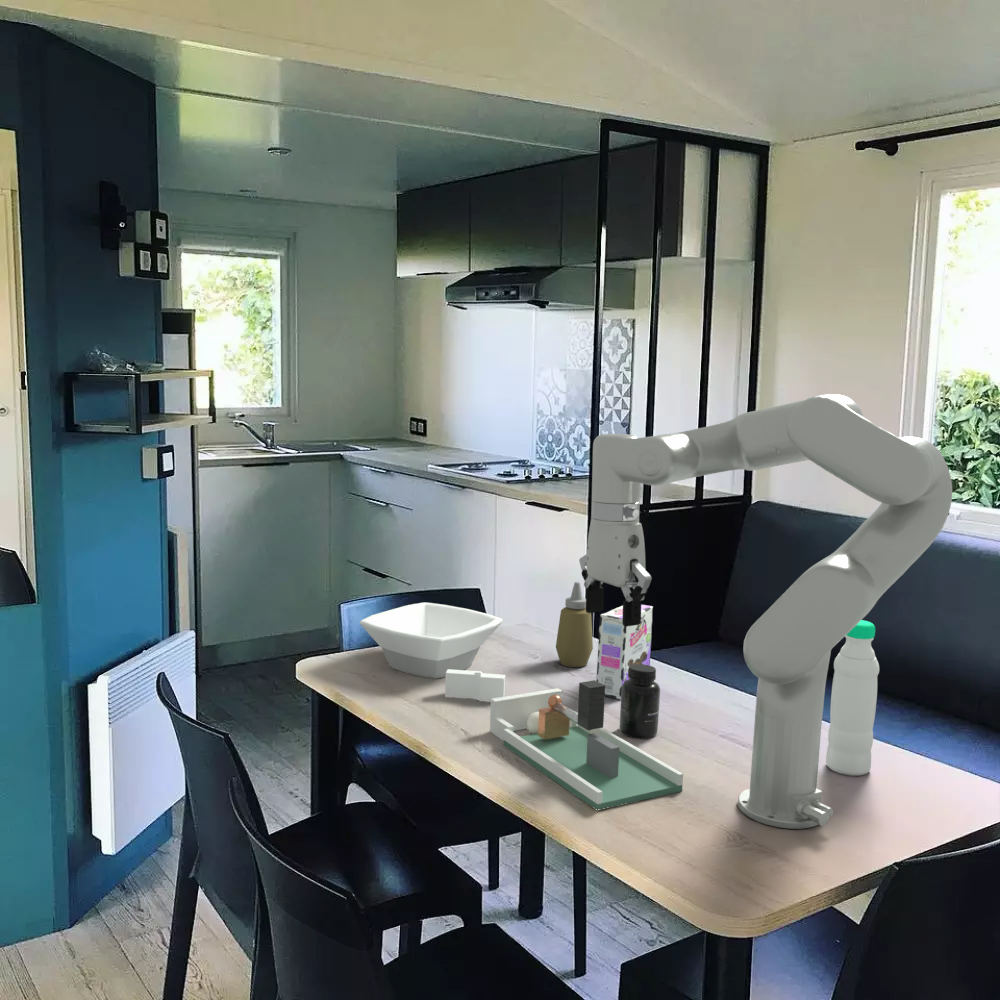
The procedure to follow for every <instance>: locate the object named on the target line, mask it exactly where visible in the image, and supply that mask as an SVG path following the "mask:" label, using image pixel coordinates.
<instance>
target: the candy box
mask: <svg viewBox="0 0 1000 1000" xmlns="http://www.w3.org/2000/svg"><path fill="white" fill-rule="evenodd" d="M653 608H654V606H652V605H646V604H641V623H640V624H639V625H633V626H627V627H626V626H623V624H622V620H623V605H621V606H619V607H616V608H614V609H613V608H612V609H611V610H609V611H606V612H604V613H601V614H600V616H599V627H598V644H597V645H598V646H597V660H596V661H597V662H596V663H597V664H596V666H597V667H596V680H595V681H597V682H599V683H601V684H603V685H605V697H608V698H613V699H616V700H620V701H621V693H622V685H623V683H624V682H625V681H626V680H628V679H629V678H628V672H629V666H630V665H634V664H644V665H650V666H651V650H652V649H651V648H652V628H653V627H652V626H653V613H654V612H653V611H654V609H653Z"/></svg>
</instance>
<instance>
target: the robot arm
mask: <svg viewBox="0 0 1000 1000" xmlns="http://www.w3.org/2000/svg"><path fill="white" fill-rule="evenodd" d="M805 461H811V462H812V463H813V464H815V465H817V466H818V467H820V468H822V469H823V470H825V471H826V472H828V473H829V474H831V475H833V476H834V477H836V478H838V479H839V480H840V481H842V482H844V483H846V484H848V485H849V486H850V487H852V488H854V489H856V490H857V491H859V492H861V493H863V494H864V495H865V496H867V497H869V498H871V499H873V500H875V501H876V502H877V501H878V502H880V505H879V506H878V507H877V508H876V509H875V511H874V512H872V514H871V515H870V516H869V517H868V518H866V520H865V521H863V522H862V524H861V525H860V526H859V527H858V528H857V529H856V531H855V532H853V534H851V535H850V537H848V539H847V540H845V541H844V542H843V543H842V545H840V546H839V547H838V548H837V549H836V550H834V552H832V553H831V554H830V555H828V556H826V557H825V558H822V560H821V559H820V561H818V562H816V563H815V564H813V565H812V566H810V567H809V568H808V569H807V570H805V571H804V572H803V573H802V574H801V575H800V576H799V577H798V578H797V579H796V580H795V581H794V582H793V583H792V584H791V585H790V586H789V588H787V589H786V590H785V592H784V593H782V594H781V595H780V596H779V598H777V599H776V600H775V602H773V604H771V606H770V607H769V608H768V609H767V610H766V611H765V612H763V614H762V615H761V616H760V617H758V618H757V620H755V622H754V623H753V624H752V625H751V626H750V628H749V629H748V631H747V632H746V635H745V638H744V640H743V649H742V650H743V658H744V662H745V663H746V665H747V667H748V669H749V670H750V671H751V673H752V674H753V675H754V676H755V677H756V678H757V679H758V681H757V685H756V686H757V688H756V689H757V690H756V699H755V711H754V722H753V723H754V725H753V738H752V750H751V751H752V753H751V769H750V782H749V783H750V784H749V788H747V789H745V790H743V791H742V792H741V793H739V795H738V799H737V805H738V808H739V810H740V811H741V812H742V814H744V815H745V816H747V817H748V818H749V819H752V820H754V821H756V822H758V823H761V824H764V825H767V826H772V827H775V828H780V829H781V828H783V829H791V830H792V829H793V830H801V829H809V828H812V827H815V826H818V825H820V826H822V827H823V826H825V825H826V824H827V823H828V821H829V819H830V818H831V817H832V816H833V814H834V809H833V808H832V807H830V805H829V806H828V805H827V804H823V802H822V795H823V791H822V790H820V789H819V788H817V785H818V770H819V761H820V749H821V747H820V746H821V738H822V737H821V736H822V735H821V734H822V723H823V722H822V721H823V714H824V713H823V712H824V704H825V703H824V702H825V693H826V692H825V691H826V683H827V677H828V671H829V667H830V666H829V664H830V660H831V659H830V658H831V652H832V649H833V648H834V647H836V645H837V644H838V643H839V642H841V640H843V639H844V638H845V635H847V634H848V633H849V632H850V631H851V630H852V629H853V628H854V627H855V626H856V625H857V624H858V623H859V622H860V621H861V620H863V619H864V618H866V616H867V615H868V614H869V613H870V612H871V610H872V609H873V608H874V607H875V605H876V604H877V602H878V601H879V599H880V598H881V597H883V594H885V593H886V592H887V590H889V588H891V586H892V585H894V584H895V583H896V581H898V579H900V577H902V576H903V575H904V574H905V572H906V571H908V569H909V568H910V567H911V566H912V565H913V564H914V563H915V562H916V561H917V560H918V559H919V558H920V557H921V556H922V555H923V553H924V552H926V551H927V550H928V548H929V547H930V546H931V545H932V543H934V541H935V540H936V538H937V537H938V536H939V534H940V532H941V531H942V529H943V528H944V526H945V523H946V521H947V518H948V516H949V514H950V510H951V505H952V499H953V483H952V477H951V473H950V470H949V467H948V464H947V462H946V460H945V458H944V456H943V454H942V453H941V452H940V450H939V448H937V447H936V446H935V445H934V443H933V444H932V442H930V441H928V440H927V439H924V438H921V437H917V436H901V437H898V436H896V435H894V434H893V433H891V432H890V431H888V430H885V429H884V428H883V427H880V426H879V425H876V424H875V423H874V422H872V421H870V420H868V419H867V418H866V417H864V414H863V412H862V410H861V408H860V406H859V405H858V404H857V403H856V402H855V401H854V400H853V399H851V398H850V397H848V396H845V395H841V394H833V393H831V394H830V393H829V394H821V395H814V396H811V397H808V398H806V399H803V400H798V401H794V402H790V403H785V404H780V405H777V406H772V407H766V408H762V409H757V410H753V411H749V412H744V413H741V414H739V415H736V416H735V417H734V418H733V419H730V420H728V421H725V422H724V421H723V422H722V423H721V422H720V423H718V424H712V425H708V426H704V427H698V428H696V429H695V428H694V429H690V430H689V429H688V430H685V431H679V432H673V433H672V432H671V433H665V434H659V435H652V436H645V437H644V436H643V437H637V435H634V434H629V433H628V434H627V433H626V434H625V433H605V434H600V435H597V436H596V437H595V438H594V440H593V443H592V470H591V471H592V473H591V475H592V476H591V477H592V479H591V480H592V481H591V516H590V525H589V531H588V537H587V546H586V547H587V548H586V554H585V555H583V556H581V557H580V558H579V560H578V561H579V564H580V565H579V566H580V569H581V576H582V578H583V581H584V583H583V586H584V588H585V599H586V612H587V613H591V614H594V613H600V612H603V611H604V609H605V608H604V606H605V605H604V602H605V601H604V598H605V587H603V586H602V585H603V584H607V585H610V586H614V587H617V588H620V589H621V591H622V593H623V596H624V598H625V600H623V601H622V606H623V620H622V624H623V626H626V627H627V626H633V625H639V624H640V623H641V605H642V601H644V600H645V595H646V594H647V593H648V592H649V588H650V585H651V582H652V578H653V577H652V575H651V574H650V573H649V572H648V571H647V570H646V547H645V545H646V544H645V536H644V529H643V526H642V523H641V522H640V507H641V506H640V502H641V499H640V498H641V484H642V485H643V484H644V485H648V486H655V487H656V486H665V485H666V484H667V485H668V484H671V483H675V482H680V481H684V480H688V479H692V478H697V477H702V476H707V475H712V474H717V473H723V472H728V471H737V470H745V471H759V470H763V469H768V468H774V467H778V466H784V465H788V464H795V463H800V462H801V463H802V462H805ZM630 588H632V591H631V589H630Z"/></svg>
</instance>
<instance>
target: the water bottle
mask: <svg viewBox="0 0 1000 1000" xmlns="http://www.w3.org/2000/svg"><path fill="white" fill-rule="evenodd" d="M875 635H876V626H875V625H874V624H873V623H872V622H871V621H868V620H863V619H862V620H861V621H860V622H859V623H858V624H857V625H856V626H855V627H854V628H853V629H852V630H851V631H850V632H849V633H848V634H847V635H845V636H844V638H845V643H844V645H843V646H842V647H841V648H840V651H839V653H838V654H837V656H836V657H835V658H834V661H833V669H834V673H833V678H832V685H831V693H830V694H831V698H830V711H829V712H830V714H829V715H830V718H829V719H830V724H829V727H828V733H827V740H828V741H827V742H828V743H827V748H826V755H825V763H826V766H827V767H828V768H829V769H830V770H832V771H833V772H835V773H838V774H840V775H844V776H853V777H857V776H864V775H866V774H868V773H869V772H870V770H871V767H872V747H873V742H874V730H873V729H874V724H875V718H876V709H877V700H878V698H877V697H878V675H879V674H880V664H879V661H878V659H877V657H876V654H875V650H874V649H873V647H872V642H873V640H874V638H875V637H876V636H875Z"/></svg>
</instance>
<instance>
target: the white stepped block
mask: <svg viewBox="0 0 1000 1000" xmlns="http://www.w3.org/2000/svg"><path fill="white" fill-rule="evenodd" d="M444 684H445V688H444V689H445V690H444V691H445V692H444V697H445V698H452V697H455V698H456V699H466V698H473V699H472V700H480V701H479V702H481V701H487V702H486V703H491V699H493V698H500V697H506V696H505V695H506V694H505V693H506V689H505V688H506V674H497V673H483V671H478V670H468V669H464V670H452V669H448V670H447V671H446V677H445V683H444ZM455 698H454V699H455Z"/></svg>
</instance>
